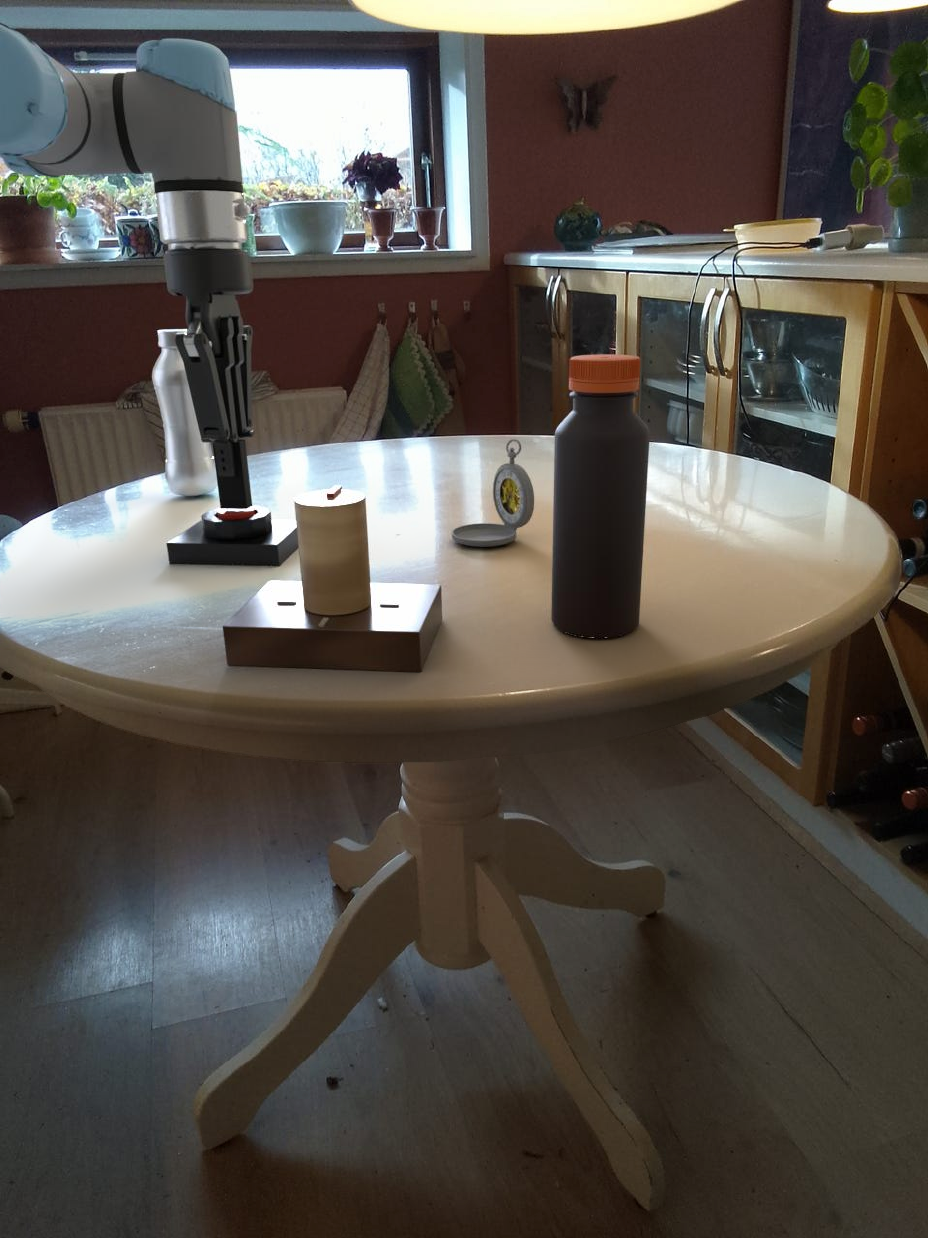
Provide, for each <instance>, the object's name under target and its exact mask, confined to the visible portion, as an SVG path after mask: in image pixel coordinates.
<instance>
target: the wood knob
mask: <svg viewBox="0 0 928 1238" xmlns="http://www.w3.org/2000/svg"><path fill="white" fill-rule="evenodd" d="M293 502H294V514H295V520H296V526H297V537H298V557H299V558H298V559H299V569H300V581H302V592H303V604H304V608H305V609H306V610H307V611H309V612H311V613H315V614H320V615H344V614H350V613H355V612H358V611H361V610H363V609H365V608H367V607H368V606H370V604H371V602H372V598H371V583H372V582H371V567H370V566H371V565H370V551H369V533H368V517H367V516H368V515H367V501H366V494H364V493H363V492H360V491H358V490H350V489H343V486H342V485H333V486H332V487H331V488H330V489H322V490H314V491H309V492H305V493H302V494H299V495H297V496H295V498H294V500H293Z"/></svg>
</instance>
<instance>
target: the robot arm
mask: <svg viewBox="0 0 928 1238" xmlns="http://www.w3.org/2000/svg"><path fill="white" fill-rule="evenodd" d="M234 96H235V95H234V89H233V82H232V75H231V69H230V62H229V58H228V57H227V56H226V55H225V54H224V53H223V52H222V50H221V49H220V48H218V47H217V46H215V45H213V44H211V43H209V42H205V41H200V40H195V39H189V38H162V39H159V40H157V39H151V40H148V41H144V42H142V43H141V44H140V45H139V46H138V47H137V49H136V63H135V70H134V71H126V72H116V73H115V72H114V73H109V72H75V71H73V70H72V69H70V68H69V67H68V66H65V65H64V64H63V63H61V62H60V61H59V60H57V59H56V58H54V57H52V56H50V55H49V54H48V53H47V52H45V51H44V50H42V48H41V47H40V46H39V45H38V44H37V42H34V41H33V40H31V39H30V38H29V37H27V36H25V35H23V34H22V33H21V32H19V31H17V30H16V29H14V28H12V27H10V26H8V25H7V24H4V23H2V22H0V159H2V160H3V163H4V165H5V166H6V167H7V168H8V169H9V170H11V171H12V172H13V173H16V174H19V175H22V176H23V175H24V176H41V177H48V178H51V179H55V178H61V176H87V175H89V176H91V175H92V176H93V175H94V176H95V175H122V174H134V175H145V174H151V176H152V180H153V189H154V199H155V206H156V214H157V215H156V216H157V222H158V230H159V231H158V232H159V240H160V242H161V243H162V244H163V245H167V246H168V250H167V251H165V252H164V253H165V254H164V255H163V257H162V258H163V265H164V273H165V280H166V287H167V291H168V293H169V294H170V295H172V296H175V297H178V296H183V297H184V298H185V321H186V325H185V326H186V329H187V333H186V334H176V337H175V342H176V346H177V348H178V351H179V353H180V355H181V358H182V360H183V363H184V368H185V372H186V376H187V380H188V385H189V389H190V393H191V398H192V402H193V406H194V410H195V415H196V419H197V423H198V428H199V432H200V436H201V440H202V442H204V443H210V444H211V443H212V452H213V457H214V459H215V468H216V476H217V490H218V491H217V492H218V500H219V508H221V509H248V508H250V507H251V506H253V498H252V491H251V489H252V488H251V479H250V473H249V470H250V469H249V463H248V454H247V453H248V452H247V444H246V439H254V437H255V429H254V430H253V429H252V427H253V422H254V421H253V383H252V382H253V380H252V345H253V335H254V331H253V328H252V326H251V325H244V321H243V317H242V315H241V310H240V308H239V303H238V299H237V295H247V294H250V293H252V292H253V290H254V278H253V268H252V258H251V253H249V252H248V250H247V249H243V244H245V243H247V242H248V240H249V238H248V237H249V235H248V225H247V217H250V215H251V208H250V207H249V205H248V204H245V195H244V193H245V192H244V185H243V184H244V183H243V182H244V181H243V174H242V173H243V170H242V159H241V149H240V136H239V125H238V109H237V107H236V103H235V102H236V101H235V97H234ZM248 429H249V430H248ZM250 429H252V430H250Z"/></svg>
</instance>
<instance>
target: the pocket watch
mask: <svg viewBox="0 0 928 1238" xmlns="http://www.w3.org/2000/svg"><path fill="white" fill-rule="evenodd" d="M512 442H516V443H517V444H518V450H517V452H516V451H515V448H514V447H510V448H509V445H510V444H511V443H512ZM505 445H506V447H505V450H506V453H507V457H508V458H509V462H506V463H504V464H501V465H500V466H499V468H497V470H496V472H495V475H494V478H493V482H492V497H493V503H494V507H495V510H496V513H497V514H498V517H499V518H500V520H501V521H502V523H503V524H501V523H490V522H488V523H487V522H483V523H482V522H480V523H479V522H478V523H471V524H470V523H469V524H464V525H460V526H457V527H455V528H453V529H452V531H451V538H452V540H453V541H454V542H456V544H461V545H463V546H467V547H475V548H476V547H477V548H488V547H492V548H493V547H499V546H503V545H507V544H509V543H511V542H513V541H515V539H516V538H517V530H518V529H520V528H522V527H524V526H526V525H527V524H528V523H529V522H530V521H531V518H532V517H533V514H534V510H535V493H534V487H533V483H532V480H531V478H530V476H529V474H528V472H527V471H526V470H525V468H524V467H522V466H521V465H520V464H517V463H516V461H515V458H516V457H517V456H519V454H520V453H521V451H522V444H521V442H520V440H518V439H516V438H511V439H510V440H508V441H507V443H506V444H505Z"/></svg>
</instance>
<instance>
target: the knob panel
mask: <svg viewBox="0 0 928 1238" xmlns="http://www.w3.org/2000/svg"><path fill="white" fill-rule="evenodd" d="M371 598H372V602H371V604H370V606H368V607H367V608H365V609H363V610H361V611H358V612H355V613H350V614H344V615H320V614H315V613H311V612H309V611H307V610H306V609H305V608H304V604H303V592H302V581H301V580H300V581H298V580H268V581H267V582H266V583H264V585H263V586H262V587H261V588H260V589H259V590H258V591H257V592H256V593H255V594H254V595H253V596H252V597H251V598H250V599H248V601H247V602H246V603H245V604H243V606H241V608H239V610H237V612H235V613H234V615H233V616H231V618H229V619H228V620H227V621H226V622H225V624H223V625H222V633H223V642H224V649H225V655H226V656H225V658H226V665H227V666H241V667H244V666H245V667H270V668H272V667H273V668H297V669H298V668H299V669H300V668H301V669H326V670H327V669H328V670H355V671H356V670H357V671H381V672H382V671H384V672H386V671H387V672H408V673H409V672H414V673H421V672H422V670H423V668H424V665H425V663H426V660H427V658H428V656H429V653H430V651H431V649H432V646H433V643H434V641H435V638H436V636H437V633H438V631H439V628H440V626H441V623H442V621H443V600H442V599H443V597H442V584H431V583H427V584H425V583H388V582H387V583H386V582H371Z"/></svg>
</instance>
